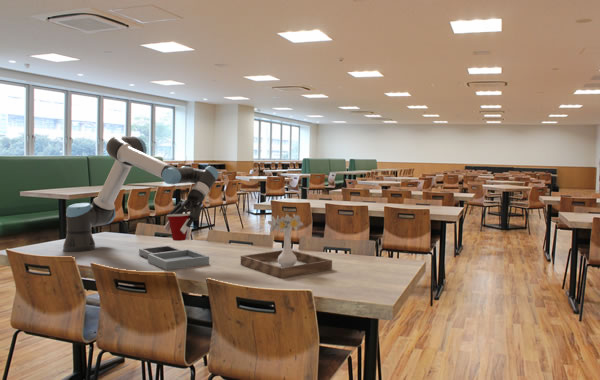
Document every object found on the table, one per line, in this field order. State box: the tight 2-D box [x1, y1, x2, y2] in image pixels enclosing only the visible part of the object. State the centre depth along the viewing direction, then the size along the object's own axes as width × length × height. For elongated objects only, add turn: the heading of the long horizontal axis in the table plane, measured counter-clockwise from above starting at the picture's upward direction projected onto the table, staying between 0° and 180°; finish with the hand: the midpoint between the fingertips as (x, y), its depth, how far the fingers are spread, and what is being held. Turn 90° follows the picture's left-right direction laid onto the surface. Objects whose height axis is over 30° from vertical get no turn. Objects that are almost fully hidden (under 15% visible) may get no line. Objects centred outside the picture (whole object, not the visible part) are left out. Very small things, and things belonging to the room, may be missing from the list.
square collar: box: [138, 245, 181, 260], centre depth 241 cm, size 15×15×3 cm
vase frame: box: [240, 249, 333, 279], centre depth 220 cm, size 31×27×4 cm
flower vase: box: [267, 213, 304, 268], centre depth 219 cm, size 12×18×24 cm
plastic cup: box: [166, 213, 190, 242], centre depth 224 cm, size 11×11×12 cm
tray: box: [147, 249, 210, 271], centre depth 225 cm, size 20×20×4 cm
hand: (173, 230), depth 222 cm, fingers closed on plastic cup, 10 cm apart
